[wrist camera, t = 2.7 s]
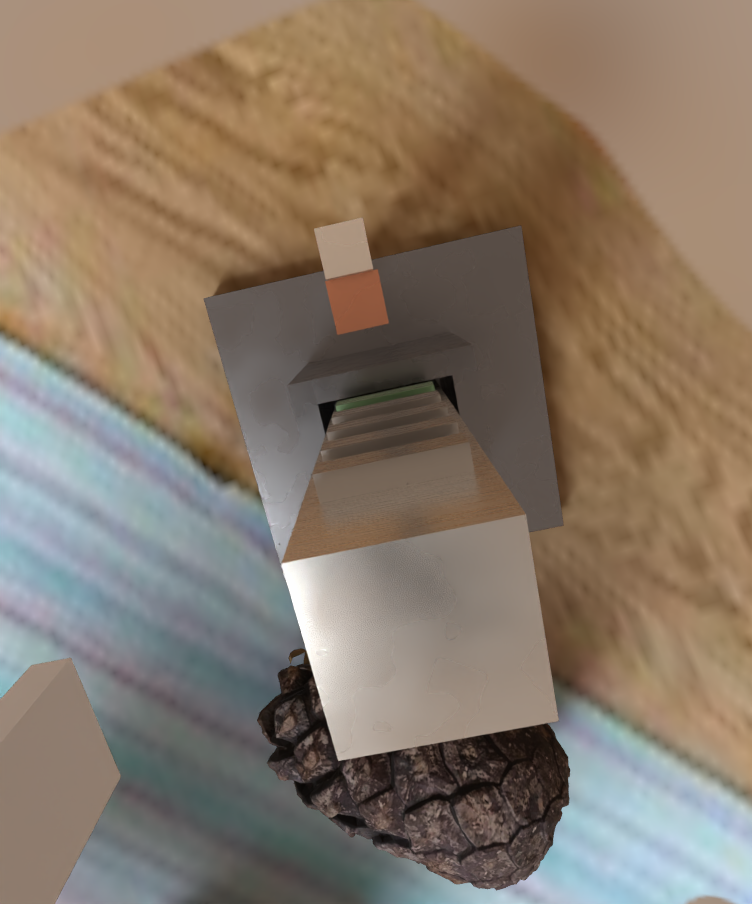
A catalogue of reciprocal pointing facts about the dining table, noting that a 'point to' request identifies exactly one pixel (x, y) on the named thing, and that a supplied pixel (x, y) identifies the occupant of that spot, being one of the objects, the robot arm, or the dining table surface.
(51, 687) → the robot arm
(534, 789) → the pine cone
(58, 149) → the dining table surface
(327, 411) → the stand base
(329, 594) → the column
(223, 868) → the dining table surface
